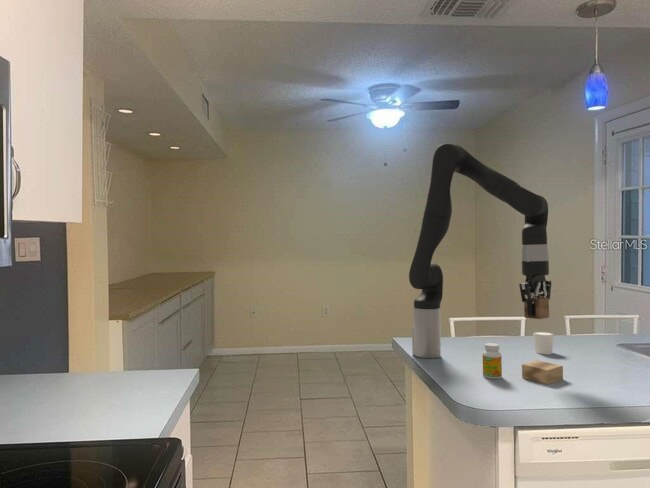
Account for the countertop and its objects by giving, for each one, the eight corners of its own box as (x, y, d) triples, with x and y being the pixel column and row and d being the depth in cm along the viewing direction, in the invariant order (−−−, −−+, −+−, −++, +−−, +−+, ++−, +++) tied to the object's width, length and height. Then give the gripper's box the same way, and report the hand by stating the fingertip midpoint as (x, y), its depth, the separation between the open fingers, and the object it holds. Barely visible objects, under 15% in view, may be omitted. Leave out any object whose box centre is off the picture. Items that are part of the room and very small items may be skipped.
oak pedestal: (522, 377, 140) (521, 364, 140) (537, 373, 144) (537, 360, 144) (547, 384, 133) (547, 370, 133) (562, 379, 138) (562, 365, 138)
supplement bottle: (482, 378, 140) (481, 345, 140) (483, 373, 145) (483, 342, 145) (501, 380, 138) (501, 347, 138) (502, 375, 143) (501, 343, 143)
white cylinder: (555, 351, 172) (555, 332, 172) (552, 355, 167) (552, 335, 167) (534, 349, 176) (534, 330, 176) (531, 353, 170) (531, 334, 170)
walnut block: (524, 317, 143) (523, 297, 143) (533, 315, 146) (533, 296, 146) (540, 319, 139) (539, 298, 139) (549, 317, 142) (548, 297, 142)
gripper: (536, 258, 150) (538, 312, 150) (510, 260, 142) (511, 316, 142) (559, 258, 144) (561, 314, 144) (533, 260, 136) (535, 319, 136)
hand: (536, 315), depth 143 cm, fingers closed on walnut block, 5 cm apart
